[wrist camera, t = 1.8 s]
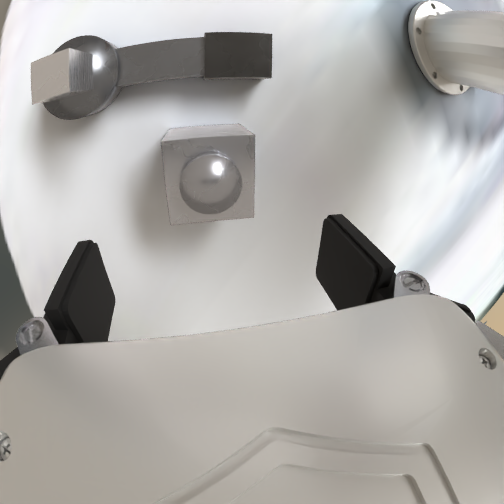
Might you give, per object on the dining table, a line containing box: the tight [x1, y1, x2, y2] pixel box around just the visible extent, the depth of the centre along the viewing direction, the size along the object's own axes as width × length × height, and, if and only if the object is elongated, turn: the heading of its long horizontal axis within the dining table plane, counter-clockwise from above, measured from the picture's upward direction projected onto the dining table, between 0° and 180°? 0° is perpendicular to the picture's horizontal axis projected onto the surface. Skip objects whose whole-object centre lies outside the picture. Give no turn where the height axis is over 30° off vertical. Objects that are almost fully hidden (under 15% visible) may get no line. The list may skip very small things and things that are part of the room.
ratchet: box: [31, 32, 272, 120], centre depth 14 cm, size 18×7×8 cm, turn 90°
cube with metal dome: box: [161, 124, 255, 225], centre depth 20 cm, size 6×6×8 cm
